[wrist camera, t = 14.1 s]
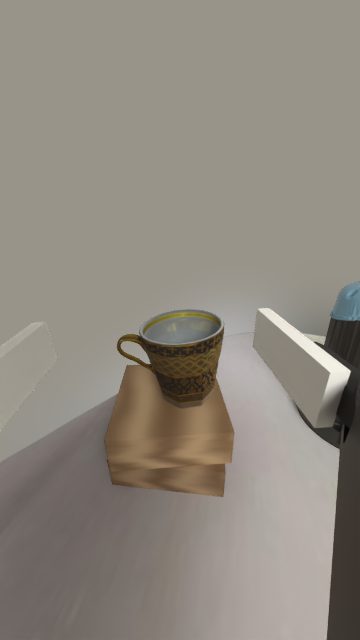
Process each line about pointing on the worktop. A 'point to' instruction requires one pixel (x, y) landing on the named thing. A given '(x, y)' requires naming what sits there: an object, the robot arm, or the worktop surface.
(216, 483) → the tower bottom block
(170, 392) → the ceramic cup
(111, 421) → the tower top block
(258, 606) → the worktop surface
